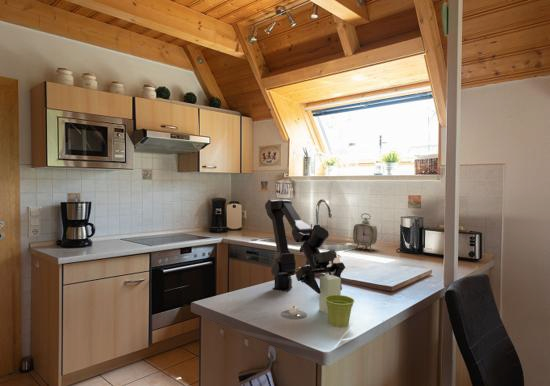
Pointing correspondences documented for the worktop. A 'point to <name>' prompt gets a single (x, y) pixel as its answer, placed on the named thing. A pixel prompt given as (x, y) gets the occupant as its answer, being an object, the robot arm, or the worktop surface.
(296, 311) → the tea light
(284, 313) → the saucer
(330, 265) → the beer glass
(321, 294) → the cover
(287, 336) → the worktop surface
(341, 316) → the plant pot
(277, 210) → the robot arm
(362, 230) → the tabletop clock
